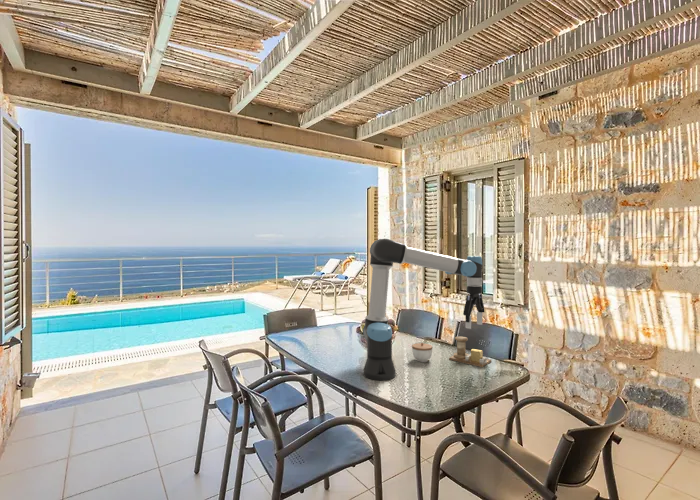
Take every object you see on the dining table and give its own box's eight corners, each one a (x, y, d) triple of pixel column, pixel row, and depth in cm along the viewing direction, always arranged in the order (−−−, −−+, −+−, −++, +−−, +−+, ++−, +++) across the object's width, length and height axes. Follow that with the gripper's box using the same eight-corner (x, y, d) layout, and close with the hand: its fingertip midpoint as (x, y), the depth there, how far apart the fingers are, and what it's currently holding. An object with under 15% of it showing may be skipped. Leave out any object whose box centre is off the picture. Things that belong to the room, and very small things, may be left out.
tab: (480, 363, 181) (480, 351, 181) (470, 361, 184) (470, 349, 184) (482, 362, 183) (482, 350, 183) (473, 360, 186) (473, 348, 186)
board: (482, 367, 178) (482, 360, 178) (449, 359, 191) (449, 353, 191) (491, 361, 187) (491, 354, 187) (459, 354, 199) (459, 348, 199)
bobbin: (464, 359, 187) (465, 340, 187) (450, 356, 192) (450, 338, 192) (471, 356, 192) (471, 337, 192) (457, 353, 198) (457, 335, 198)
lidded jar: (432, 364, 183) (432, 345, 183) (411, 362, 185) (411, 344, 185) (432, 357, 194) (432, 340, 194) (412, 356, 196) (412, 339, 196)
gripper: (470, 287, 172) (470, 331, 172) (491, 284, 190) (490, 324, 190) (456, 286, 177) (456, 329, 177) (477, 283, 196) (477, 321, 196)
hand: (474, 326), depth 184 cm, fingers open, 13 cm apart
